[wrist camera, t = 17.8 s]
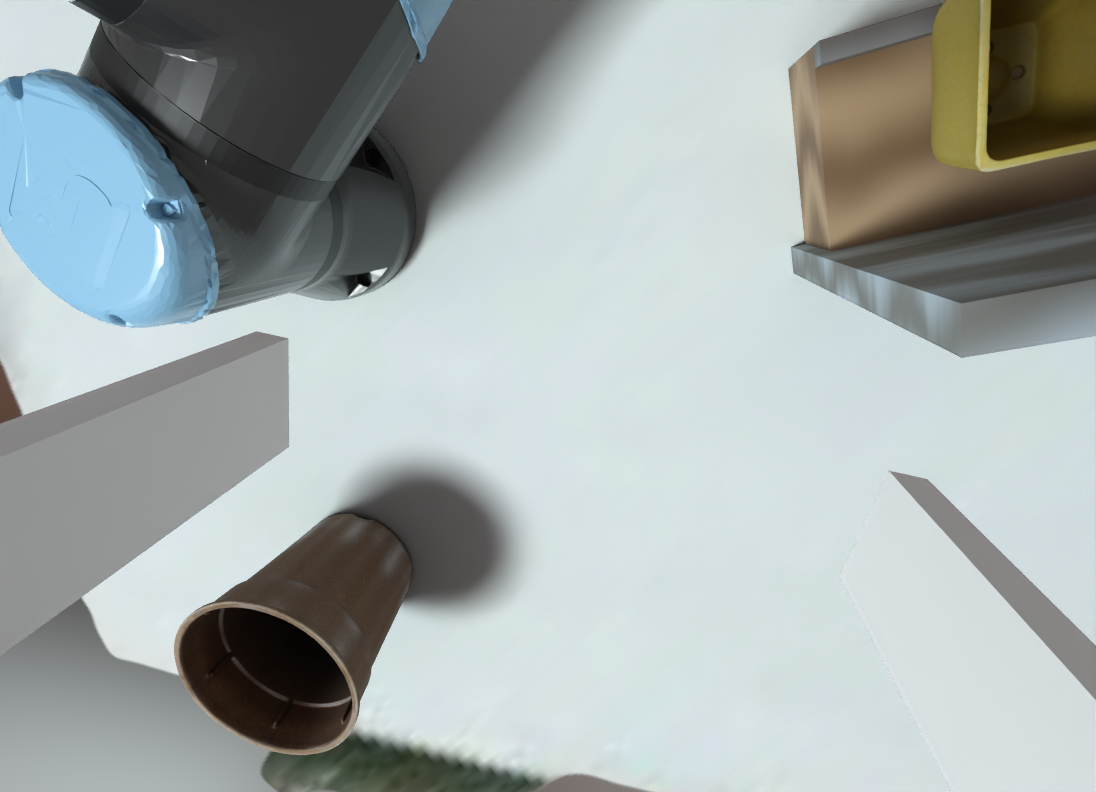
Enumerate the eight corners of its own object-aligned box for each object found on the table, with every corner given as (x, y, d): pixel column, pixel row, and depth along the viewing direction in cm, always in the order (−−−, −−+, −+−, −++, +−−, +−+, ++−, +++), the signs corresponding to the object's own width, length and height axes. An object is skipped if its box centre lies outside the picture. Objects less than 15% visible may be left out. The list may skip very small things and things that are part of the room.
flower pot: (895, 180, 34) (978, 174, 25) (892, 19, 31) (983, -47, 23) (1062, 145, 32) (1212, 126, 23) (1075, -30, 29) (1249, -123, 21)
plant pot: (367, 643, 63) (280, 782, 48) (263, 547, 61) (138, 661, 46) (461, 576, 57) (396, 709, 42) (351, 467, 55) (241, 567, 40)
